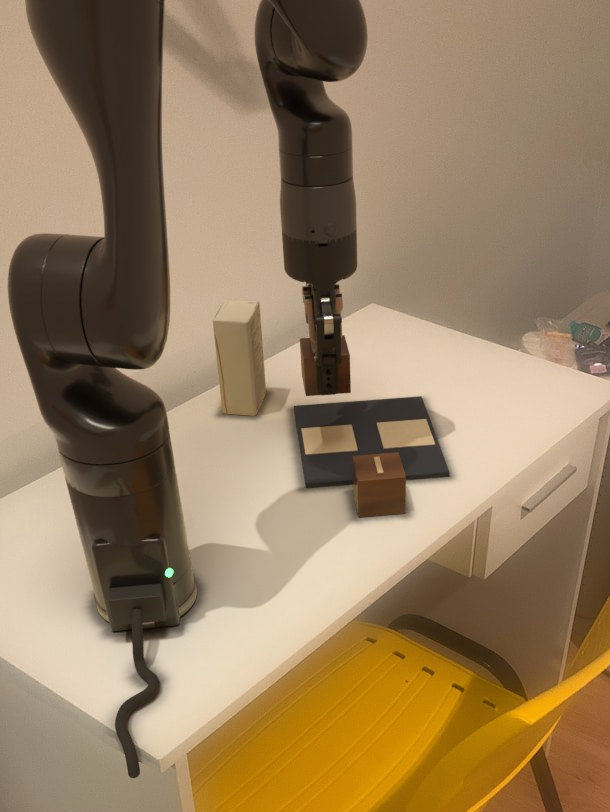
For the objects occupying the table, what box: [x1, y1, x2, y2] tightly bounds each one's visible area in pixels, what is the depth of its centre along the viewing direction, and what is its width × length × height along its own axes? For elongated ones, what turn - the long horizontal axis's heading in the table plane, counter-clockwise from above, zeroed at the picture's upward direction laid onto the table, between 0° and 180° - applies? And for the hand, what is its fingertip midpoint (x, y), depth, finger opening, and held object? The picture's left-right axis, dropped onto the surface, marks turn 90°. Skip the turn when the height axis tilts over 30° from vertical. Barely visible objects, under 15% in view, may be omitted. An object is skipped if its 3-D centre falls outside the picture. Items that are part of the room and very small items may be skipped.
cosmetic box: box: [212, 298, 267, 417], centre depth 116 cm, size 6×4×12 cm
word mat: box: [293, 396, 450, 489], centre depth 112 cm, size 18×16×1 cm
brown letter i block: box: [352, 452, 407, 518], centre depth 101 cm, size 5×5×5 cm
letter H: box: [299, 334, 352, 397], centre depth 106 cm, size 5×5×5 cm
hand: (325, 381), depth 107 cm, fingers closed on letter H, 5 cm apart
